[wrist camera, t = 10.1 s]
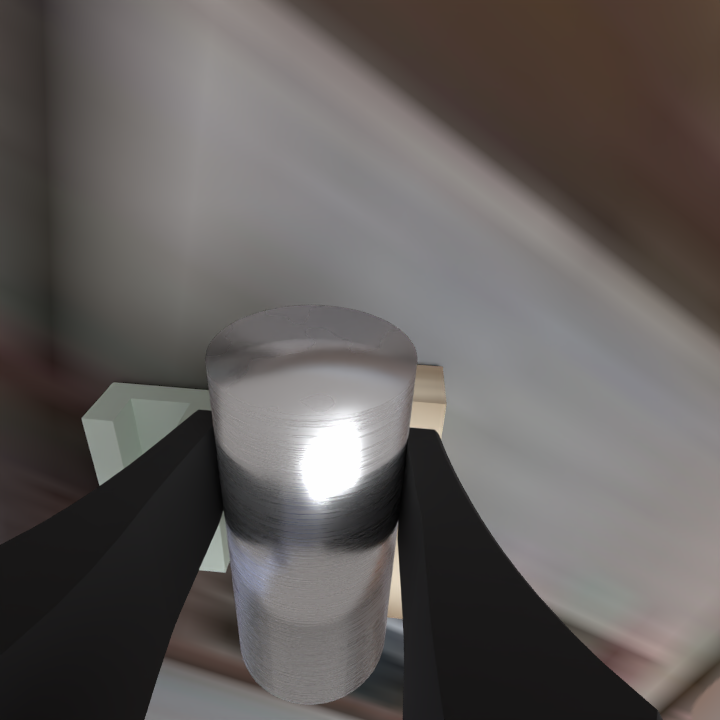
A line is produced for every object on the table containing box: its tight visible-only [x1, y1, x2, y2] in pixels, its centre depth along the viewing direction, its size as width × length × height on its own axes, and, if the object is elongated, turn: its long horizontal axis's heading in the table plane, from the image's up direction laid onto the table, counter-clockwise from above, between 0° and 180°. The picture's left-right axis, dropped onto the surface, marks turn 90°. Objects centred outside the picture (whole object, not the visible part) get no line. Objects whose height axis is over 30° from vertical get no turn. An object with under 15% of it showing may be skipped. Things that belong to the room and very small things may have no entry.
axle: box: [205, 305, 417, 705], centre depth 13 cm, size 9×4×4 cm, turn 177°
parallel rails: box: [387, 365, 446, 619], centre depth 23 cm, size 12×7×2 cm, turn 177°
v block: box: [81, 382, 230, 573], centre depth 23 cm, size 8×5×2 cm, turn 177°
